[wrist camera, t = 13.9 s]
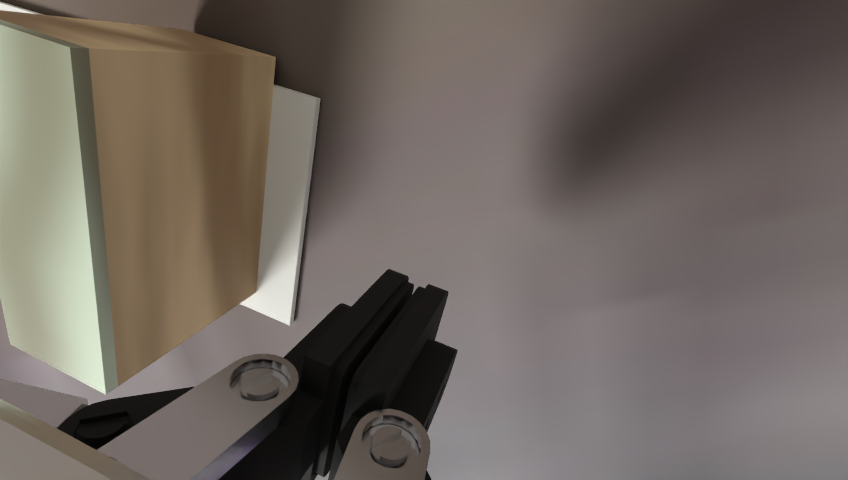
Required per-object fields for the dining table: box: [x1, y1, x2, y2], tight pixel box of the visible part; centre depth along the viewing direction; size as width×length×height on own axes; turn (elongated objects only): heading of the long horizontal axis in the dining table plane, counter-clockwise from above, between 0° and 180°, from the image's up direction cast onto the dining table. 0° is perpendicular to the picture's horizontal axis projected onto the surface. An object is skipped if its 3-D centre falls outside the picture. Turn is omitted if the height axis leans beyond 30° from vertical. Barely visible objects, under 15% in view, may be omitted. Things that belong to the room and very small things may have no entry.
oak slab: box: [0, 10, 276, 394], centre depth 15 cm, size 4×10×7 cm, turn 166°
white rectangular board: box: [0, 1, 321, 325], centre depth 19 cm, size 16×10×1 cm, turn 76°
